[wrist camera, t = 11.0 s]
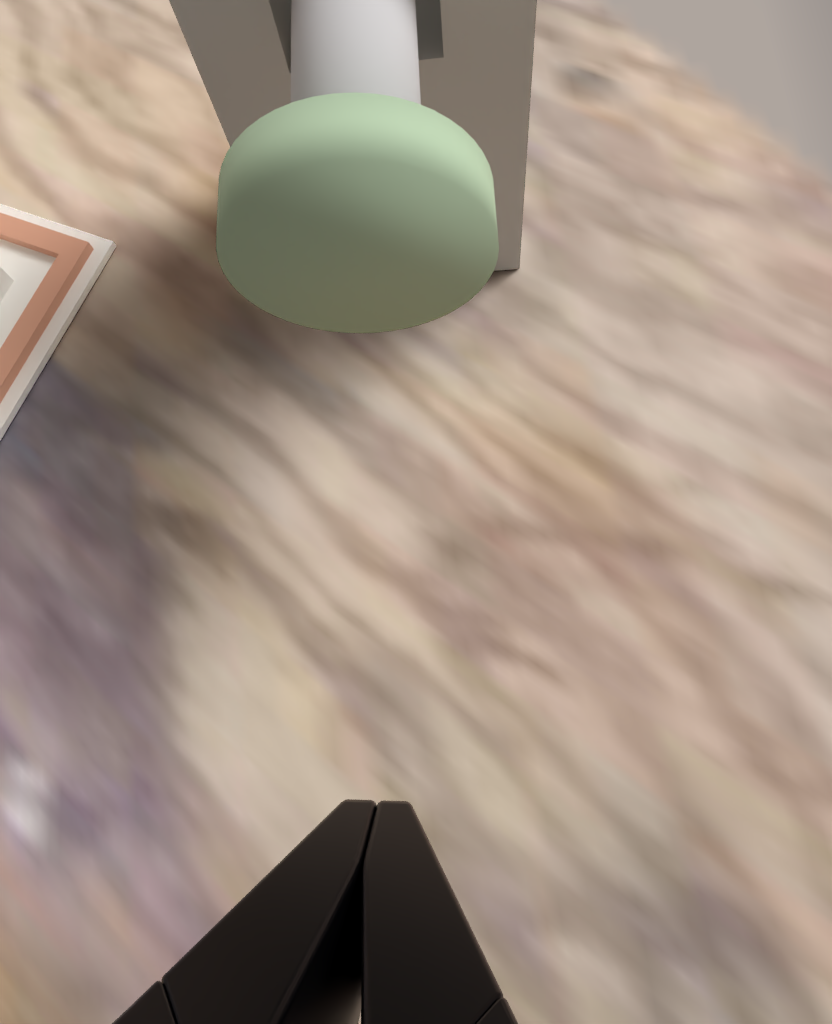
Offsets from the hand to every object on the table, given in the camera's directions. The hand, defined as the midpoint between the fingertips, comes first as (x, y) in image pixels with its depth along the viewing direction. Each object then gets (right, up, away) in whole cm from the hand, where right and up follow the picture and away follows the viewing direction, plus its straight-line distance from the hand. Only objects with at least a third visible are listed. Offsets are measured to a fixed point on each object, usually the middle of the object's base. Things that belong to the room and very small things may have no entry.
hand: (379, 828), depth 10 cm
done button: (0, +10, +5) cm, 11 cm away
